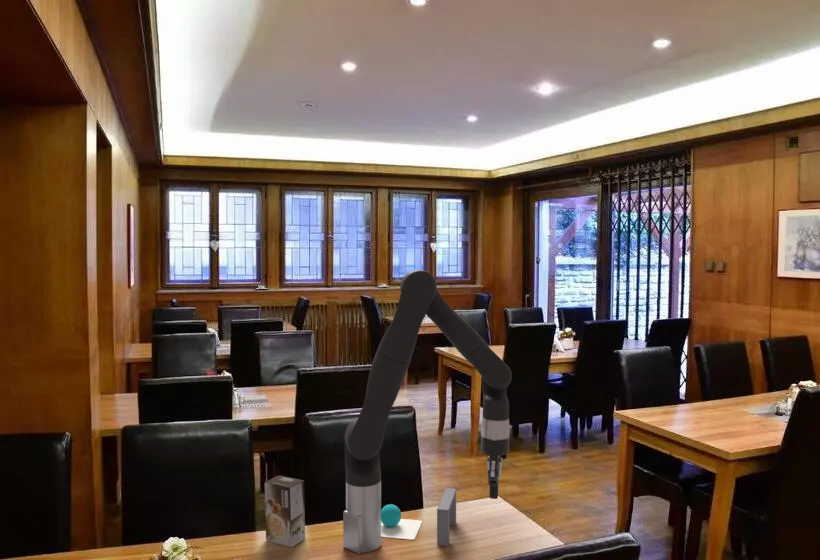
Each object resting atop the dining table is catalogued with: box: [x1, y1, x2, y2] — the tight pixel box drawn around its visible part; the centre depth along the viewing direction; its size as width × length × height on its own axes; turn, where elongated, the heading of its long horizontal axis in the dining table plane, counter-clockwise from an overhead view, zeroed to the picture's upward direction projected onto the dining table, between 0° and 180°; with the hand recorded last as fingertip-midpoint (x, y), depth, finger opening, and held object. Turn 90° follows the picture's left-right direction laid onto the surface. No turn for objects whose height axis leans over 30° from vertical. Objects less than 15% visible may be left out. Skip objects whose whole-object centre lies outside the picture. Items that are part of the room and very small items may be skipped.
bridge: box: [436, 487, 457, 547], centre depth 171 cm, size 3×15×10 cm, turn 168°
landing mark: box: [381, 518, 423, 541], centre depth 174 cm, size 12×12×1 cm
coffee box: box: [264, 475, 306, 548], centre depth 167 cm, size 9×6×16 cm
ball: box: [381, 503, 402, 527], centre depth 176 cm, size 6×6×6 cm
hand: (493, 497), depth 168 cm, fingers closed
